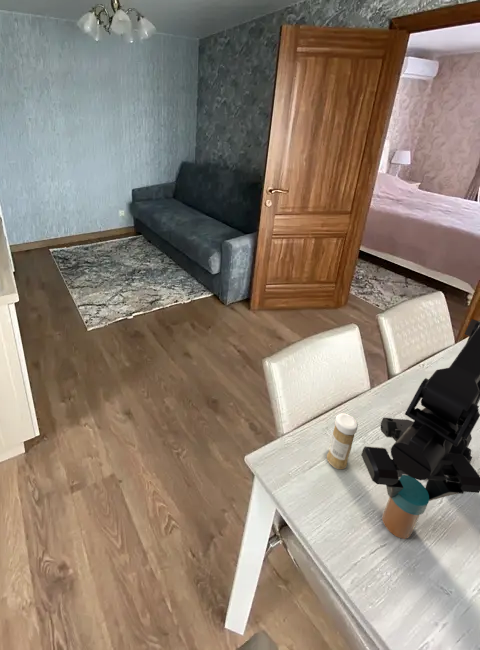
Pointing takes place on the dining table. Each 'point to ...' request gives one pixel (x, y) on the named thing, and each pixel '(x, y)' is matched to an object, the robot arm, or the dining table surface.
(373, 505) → the dining table surface
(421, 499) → the lid
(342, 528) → the dining table surface
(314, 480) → the dining table surface
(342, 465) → the sprinkles bottle
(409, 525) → the jar
